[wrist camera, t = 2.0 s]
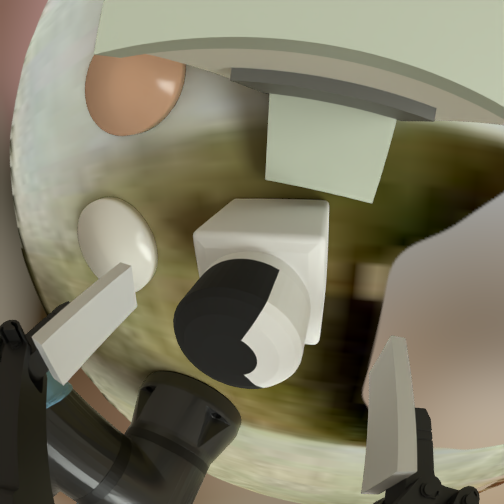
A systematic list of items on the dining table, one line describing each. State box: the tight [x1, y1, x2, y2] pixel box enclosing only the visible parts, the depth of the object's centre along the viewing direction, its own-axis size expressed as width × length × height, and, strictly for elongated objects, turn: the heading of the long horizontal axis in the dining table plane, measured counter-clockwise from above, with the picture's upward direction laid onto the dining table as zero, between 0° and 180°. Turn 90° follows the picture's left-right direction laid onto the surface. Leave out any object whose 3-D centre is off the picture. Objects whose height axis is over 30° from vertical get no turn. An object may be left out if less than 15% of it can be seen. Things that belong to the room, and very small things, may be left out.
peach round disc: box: [85, 54, 186, 136], centre depth 18 cm, size 10×10×1 cm
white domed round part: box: [78, 197, 158, 292], centre depth 26 cm, size 10×10×1 cm
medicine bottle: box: [173, 199, 329, 389], centre depth 17 cm, size 7×7×12 cm
